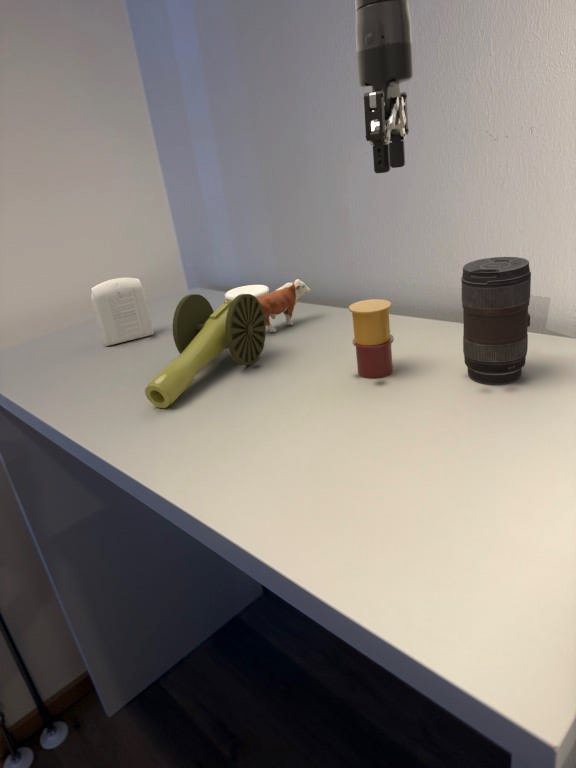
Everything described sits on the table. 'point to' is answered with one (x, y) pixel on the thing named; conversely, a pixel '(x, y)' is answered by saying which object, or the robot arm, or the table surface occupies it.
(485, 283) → the camera lens
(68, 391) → the table surface
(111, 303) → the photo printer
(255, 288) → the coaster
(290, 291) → the bull figurine
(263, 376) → the table surface
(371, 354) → the burgundy pod
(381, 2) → the robot arm
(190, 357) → the cannon
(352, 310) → the gold pod
